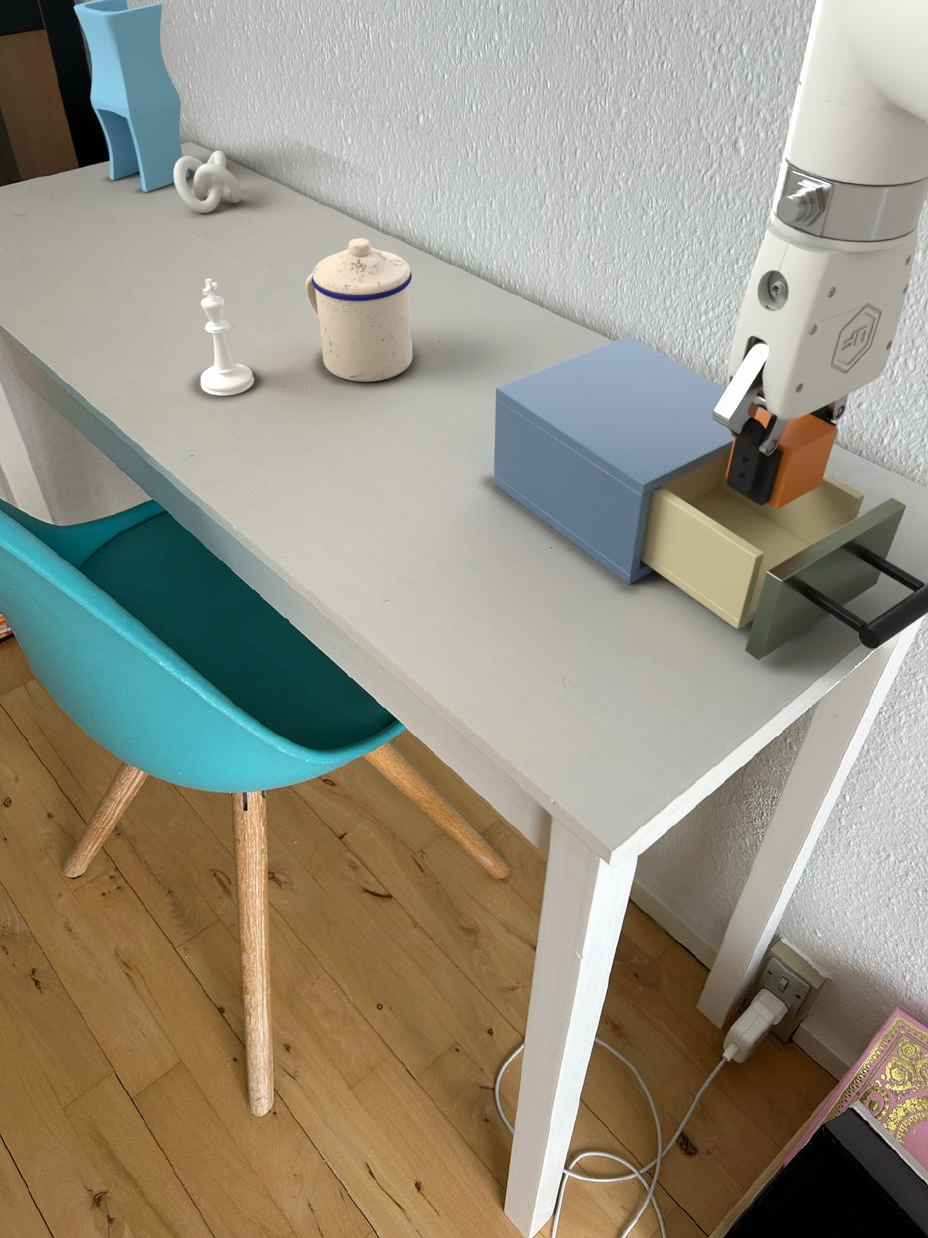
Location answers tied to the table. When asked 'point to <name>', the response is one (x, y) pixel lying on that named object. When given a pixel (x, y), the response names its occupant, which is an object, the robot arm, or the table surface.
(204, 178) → the knot
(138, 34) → the vase
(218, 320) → the chess piece
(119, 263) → the table surface
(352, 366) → the teacup with lid
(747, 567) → the drawer
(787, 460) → the matte orange cube
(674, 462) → the drawer cabinet
